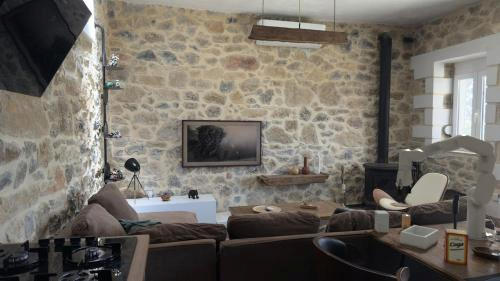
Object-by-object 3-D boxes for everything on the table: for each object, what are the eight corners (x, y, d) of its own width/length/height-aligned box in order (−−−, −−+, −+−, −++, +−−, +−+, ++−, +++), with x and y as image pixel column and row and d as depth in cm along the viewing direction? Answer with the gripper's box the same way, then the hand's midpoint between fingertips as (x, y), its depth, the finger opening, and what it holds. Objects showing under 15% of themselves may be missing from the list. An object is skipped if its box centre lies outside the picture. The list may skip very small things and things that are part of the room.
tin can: (411, 229, 228) (411, 215, 228) (408, 231, 225) (408, 216, 225) (403, 228, 232) (404, 213, 232) (400, 229, 229) (400, 215, 228)
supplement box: (385, 229, 230) (385, 210, 229) (389, 232, 222) (389, 213, 222) (374, 229, 231) (374, 210, 230) (377, 232, 223) (377, 213, 223)
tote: (414, 236, 216) (414, 225, 216) (438, 241, 206) (438, 230, 205) (400, 243, 202) (400, 231, 202) (425, 249, 192) (425, 237, 192)
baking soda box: (465, 260, 177) (465, 230, 176) (467, 265, 171) (468, 233, 170) (444, 257, 180) (444, 228, 180) (445, 262, 174) (446, 231, 174)
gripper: (407, 166, 232) (406, 191, 232) (391, 168, 222) (390, 194, 223) (418, 168, 225) (417, 193, 226) (402, 169, 216) (401, 196, 217)
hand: (404, 194), depth 225 cm, fingers open, 9 cm apart
